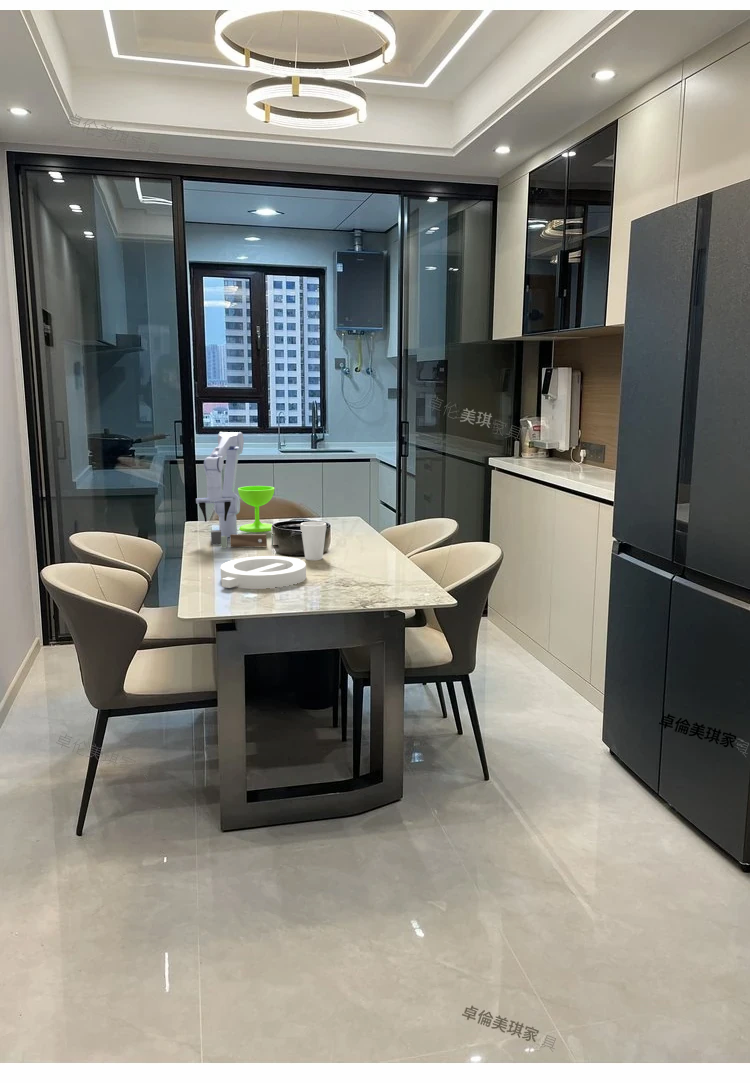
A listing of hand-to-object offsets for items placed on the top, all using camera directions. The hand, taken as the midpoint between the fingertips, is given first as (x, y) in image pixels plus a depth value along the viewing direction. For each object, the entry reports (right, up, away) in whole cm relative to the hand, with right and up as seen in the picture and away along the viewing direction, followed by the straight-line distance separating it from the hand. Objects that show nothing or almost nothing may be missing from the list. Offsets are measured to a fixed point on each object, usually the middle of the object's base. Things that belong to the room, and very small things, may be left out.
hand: (215, 520), depth 318 cm
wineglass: (+12, -3, +33) cm, 35 cm away
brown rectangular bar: (+14, -10, -6) cm, 19 cm away
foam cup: (+41, -15, -25) cm, 50 cm away
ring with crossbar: (+27, -21, -54) cm, 64 cm away
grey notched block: (0, -9, +4) cm, 9 cm away
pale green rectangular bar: (+14, -10, -4) cm, 18 cm away
